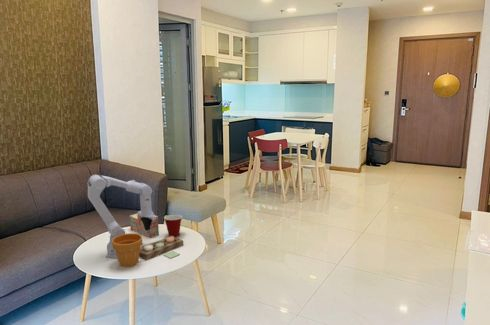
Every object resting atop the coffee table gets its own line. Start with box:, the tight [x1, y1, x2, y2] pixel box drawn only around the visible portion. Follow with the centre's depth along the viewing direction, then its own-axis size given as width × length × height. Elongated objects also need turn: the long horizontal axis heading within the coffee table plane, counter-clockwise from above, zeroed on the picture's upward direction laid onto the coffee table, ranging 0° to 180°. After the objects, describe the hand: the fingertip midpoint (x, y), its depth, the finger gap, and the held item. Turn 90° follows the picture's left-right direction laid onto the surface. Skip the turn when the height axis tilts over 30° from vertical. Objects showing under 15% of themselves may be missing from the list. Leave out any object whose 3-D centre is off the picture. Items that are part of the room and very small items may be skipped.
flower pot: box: [112, 232, 143, 268], centre depth 184 cm, size 14×14×13 cm
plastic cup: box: [163, 214, 183, 238], centre depth 218 cm, size 11×11×12 cm
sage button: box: [156, 242, 164, 248], centre depth 200 cm, size 4×4×3 cm
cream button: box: [143, 244, 153, 252], centre depth 194 cm, size 4×4×3 cm
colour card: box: [162, 250, 181, 259], centre depth 194 cm, size 6×6×1 cm
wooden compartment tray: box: [139, 236, 184, 261], centre depth 200 cm, size 24×10×3 cm, turn 139°
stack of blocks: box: [128, 212, 160, 239], centre depth 224 cm, size 21×6×12 cm, turn 49°
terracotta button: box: [165, 236, 174, 243], centre depth 205 cm, size 4×4×3 cm
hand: (147, 229), depth 204 cm, fingers closed
